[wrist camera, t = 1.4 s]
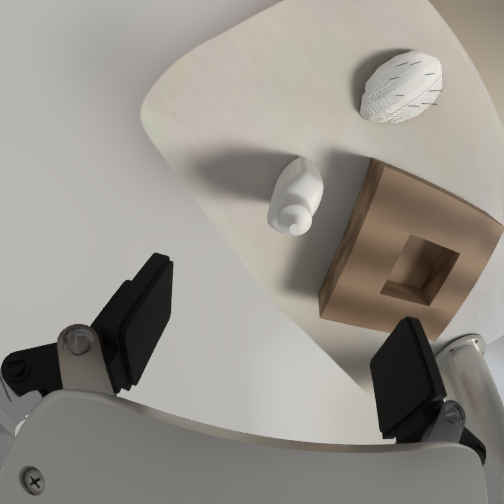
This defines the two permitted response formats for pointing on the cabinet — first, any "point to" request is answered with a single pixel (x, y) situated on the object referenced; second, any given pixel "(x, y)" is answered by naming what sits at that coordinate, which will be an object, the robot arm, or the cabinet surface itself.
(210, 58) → the cabinet surface
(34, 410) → the robot arm
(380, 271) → the walnut socket block
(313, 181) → the eye dropper bottle
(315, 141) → the cabinet surface
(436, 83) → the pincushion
